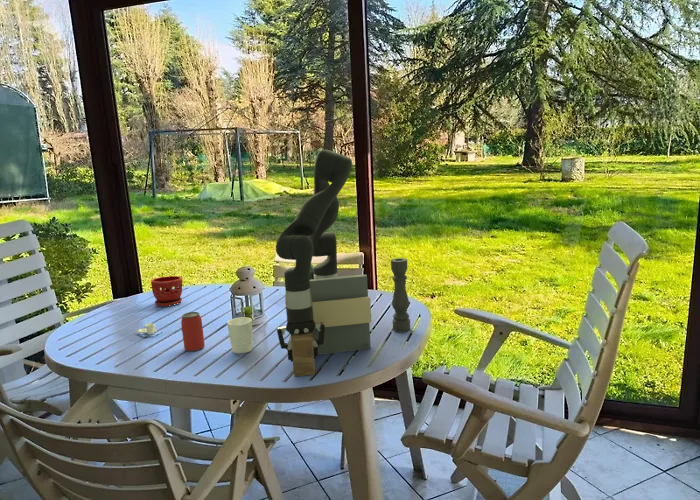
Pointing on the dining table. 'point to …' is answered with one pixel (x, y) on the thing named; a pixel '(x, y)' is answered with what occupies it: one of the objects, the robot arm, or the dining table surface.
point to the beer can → (192, 331)
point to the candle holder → (400, 295)
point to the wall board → (342, 313)
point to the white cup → (241, 334)
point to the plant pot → (167, 290)
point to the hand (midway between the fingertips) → (303, 359)
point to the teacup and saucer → (148, 329)
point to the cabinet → (303, 354)
